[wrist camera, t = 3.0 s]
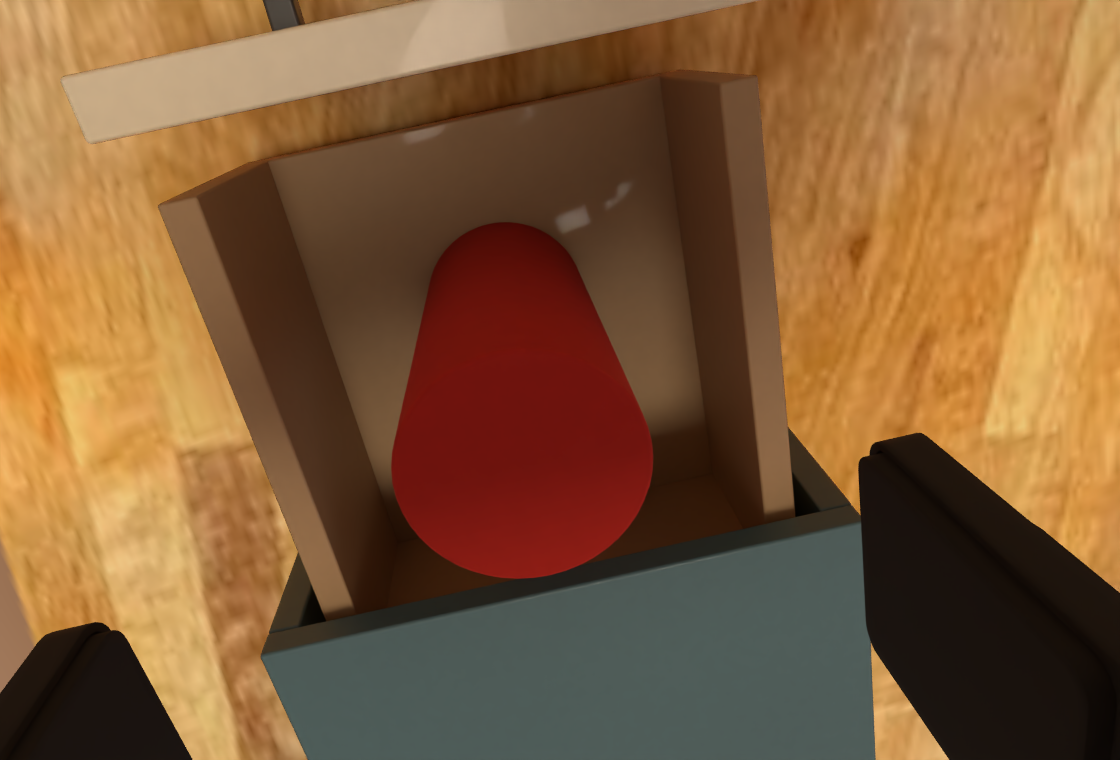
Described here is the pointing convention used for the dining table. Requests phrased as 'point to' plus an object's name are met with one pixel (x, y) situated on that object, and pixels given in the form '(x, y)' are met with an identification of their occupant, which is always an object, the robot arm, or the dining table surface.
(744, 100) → the drawer
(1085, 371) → the dining table surface
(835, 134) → the dining table surface
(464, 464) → the cylinder
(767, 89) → the dining table surface
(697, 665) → the cabinet
